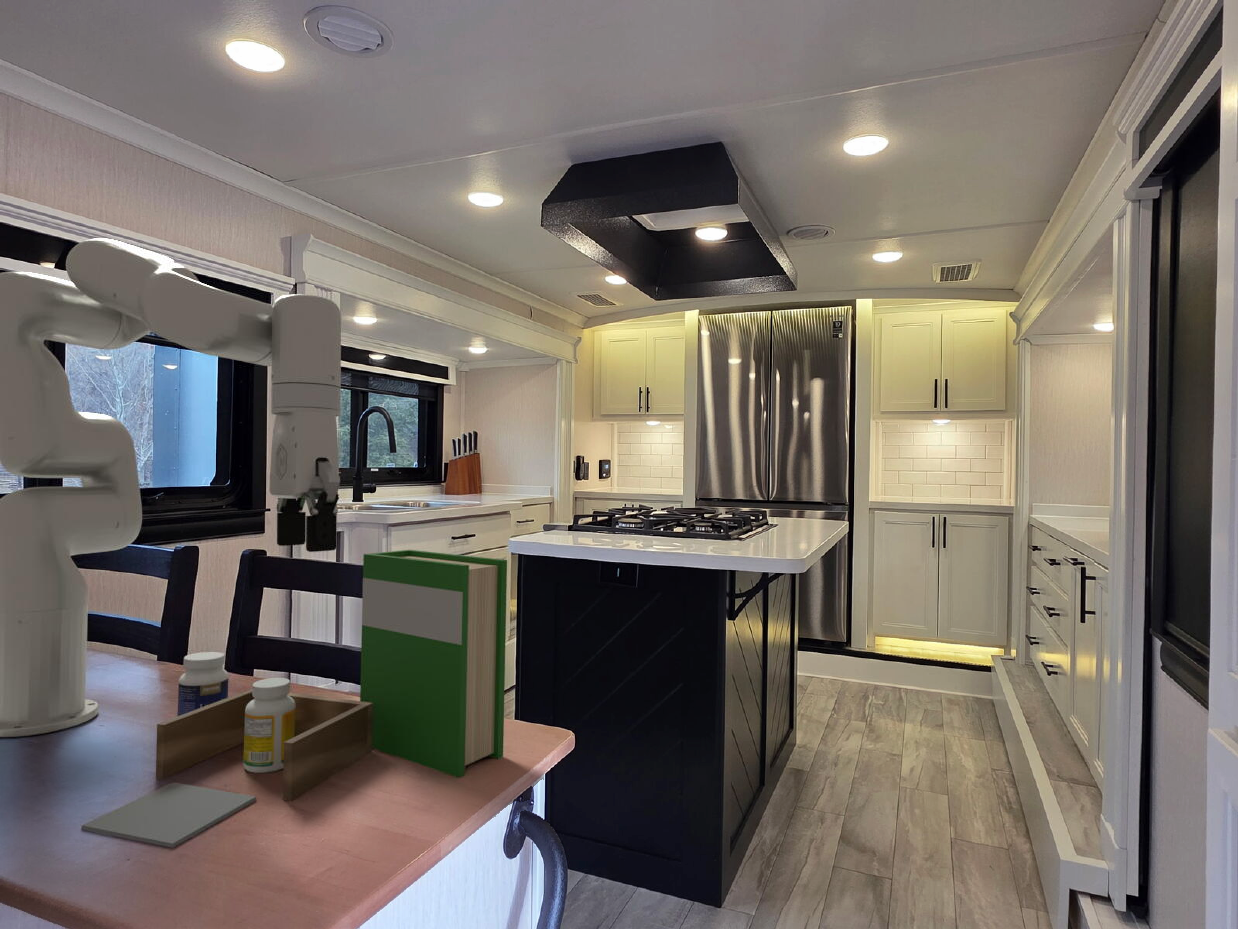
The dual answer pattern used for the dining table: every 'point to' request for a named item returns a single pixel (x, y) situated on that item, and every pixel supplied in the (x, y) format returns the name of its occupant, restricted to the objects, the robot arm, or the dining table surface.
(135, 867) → the dining table surface
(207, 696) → the pill bottle
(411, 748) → the hardback book
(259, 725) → the supplement bottle
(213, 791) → the grey mat
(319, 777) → the wooden u-shaped frame
